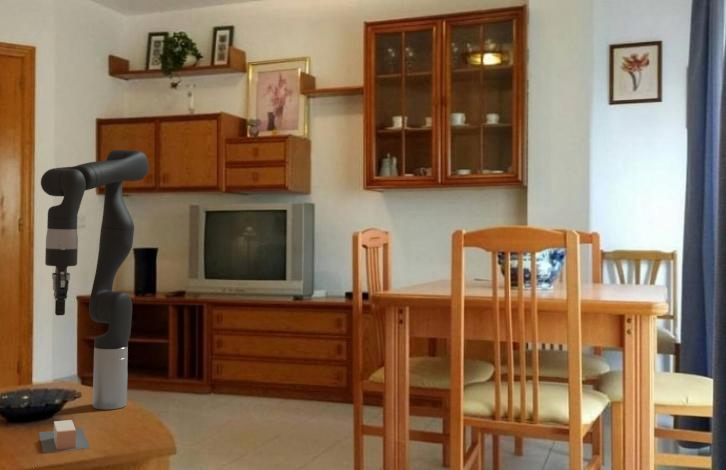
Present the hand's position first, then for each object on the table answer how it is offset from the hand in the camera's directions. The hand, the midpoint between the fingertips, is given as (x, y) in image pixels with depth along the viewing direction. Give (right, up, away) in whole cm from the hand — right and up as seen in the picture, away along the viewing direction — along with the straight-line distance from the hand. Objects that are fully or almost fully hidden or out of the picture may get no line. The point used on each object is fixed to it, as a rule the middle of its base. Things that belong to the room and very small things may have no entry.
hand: (59, 314), depth 180 cm
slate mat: (+6, -29, -11) cm, 32 cm away
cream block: (+4, -27, -9) cm, 28 cm away
